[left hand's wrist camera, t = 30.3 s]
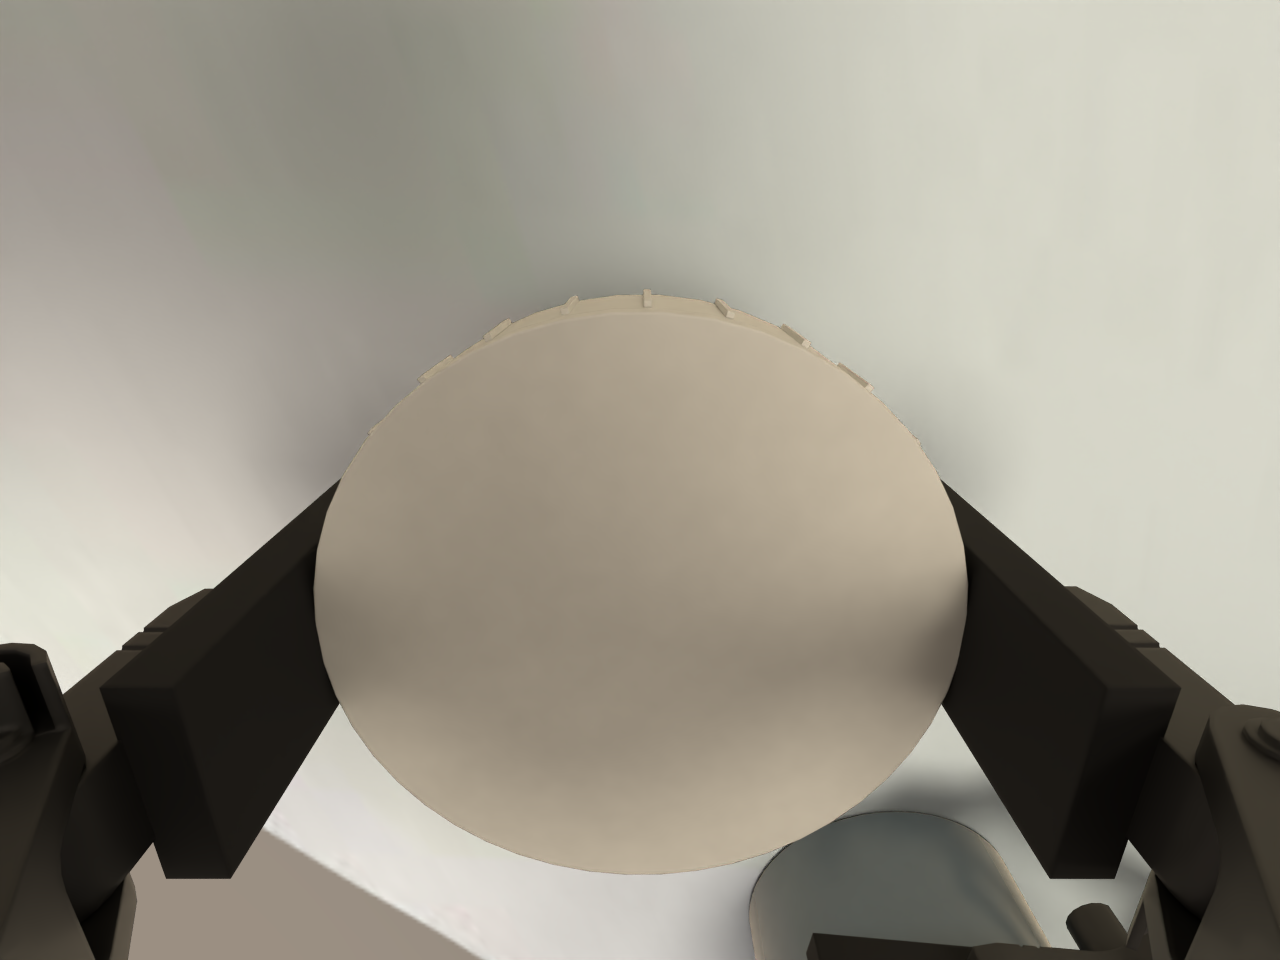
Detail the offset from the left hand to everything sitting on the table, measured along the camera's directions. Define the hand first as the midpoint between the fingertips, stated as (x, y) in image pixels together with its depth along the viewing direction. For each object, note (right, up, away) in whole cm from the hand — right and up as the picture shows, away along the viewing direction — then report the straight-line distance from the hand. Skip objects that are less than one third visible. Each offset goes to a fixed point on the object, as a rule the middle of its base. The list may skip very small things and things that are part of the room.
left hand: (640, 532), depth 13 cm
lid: (0, -1, -3) cm, 3 cm away
